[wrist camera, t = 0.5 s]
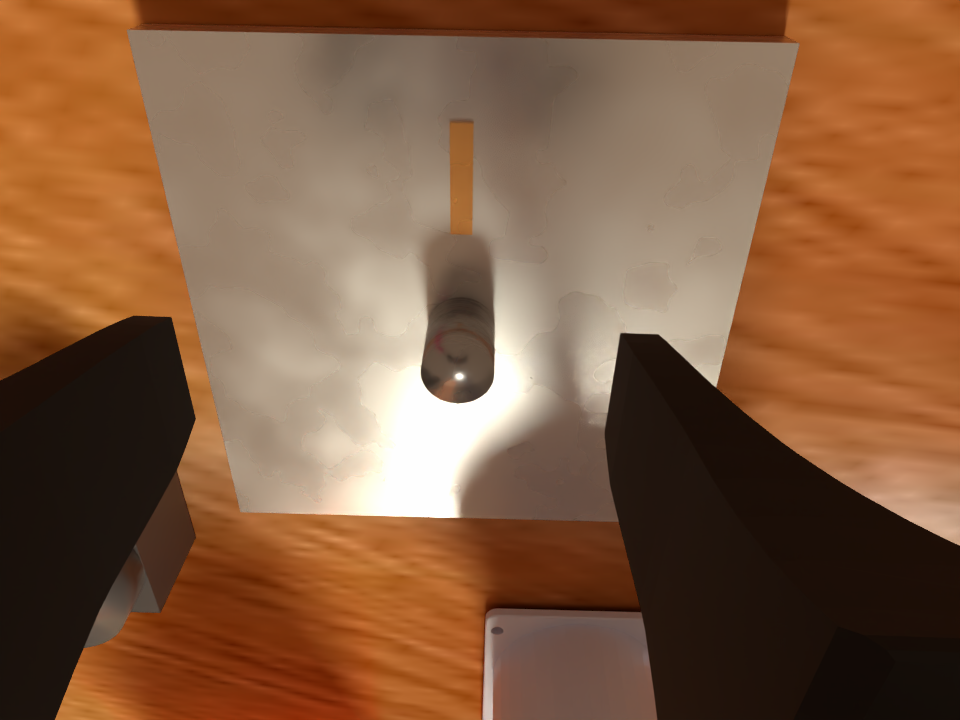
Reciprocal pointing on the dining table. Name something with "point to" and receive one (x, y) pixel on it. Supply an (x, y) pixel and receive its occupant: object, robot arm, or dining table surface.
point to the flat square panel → (450, 246)
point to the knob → (148, 566)
